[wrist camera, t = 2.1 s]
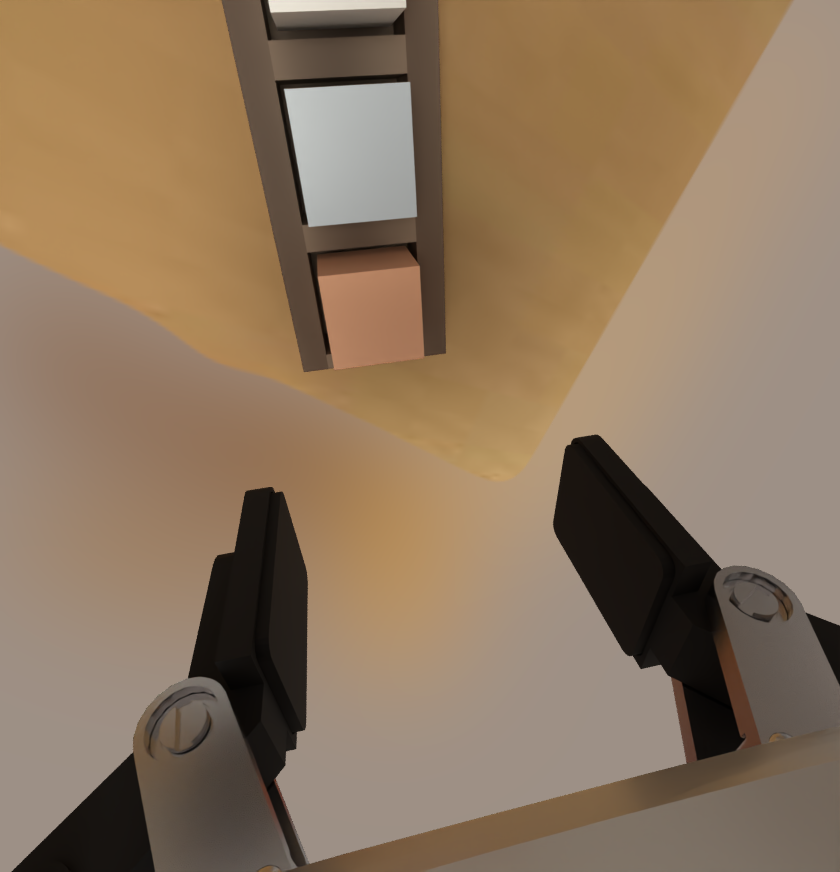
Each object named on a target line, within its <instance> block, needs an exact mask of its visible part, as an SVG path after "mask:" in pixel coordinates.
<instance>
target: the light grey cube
mask: <svg viewBox="0 0 840 872" xmlns="http://www.w3.org/2000/svg"><path fill="white" fill-rule="evenodd" d="M284 91H285V97H286V102H287V108H288V113H289V119H290V125H291V130H292V136H293V141H294V147H295V153H296V158H297V164H298V169H299V175H300V181H301V186H302V192H303V197H304V203H305V209H306V214H307V220H308V225H309V227H315V226H325V225H336V224H347V223H357V222H368V221H379V220H389V219H400V218H410V217H417V205H416V186H415V166H414V147H413V128H412V108H411V89H410V82H401V83H383V84H365V85H348V86H330V87H313V88H295V89H284Z"/></svg>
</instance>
